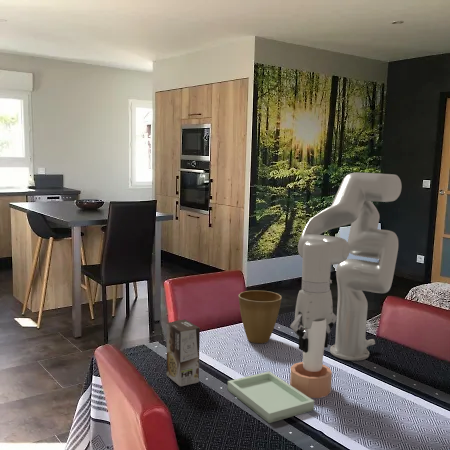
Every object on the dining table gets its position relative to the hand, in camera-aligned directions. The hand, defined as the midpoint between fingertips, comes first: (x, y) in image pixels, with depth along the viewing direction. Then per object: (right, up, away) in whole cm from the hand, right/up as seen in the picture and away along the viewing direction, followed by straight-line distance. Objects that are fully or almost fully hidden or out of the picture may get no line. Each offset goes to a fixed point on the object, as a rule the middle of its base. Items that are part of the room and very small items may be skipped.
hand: (313, 347), depth 143 cm
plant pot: (-13, -6, +38) cm, 40 cm away
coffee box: (-37, -10, +6) cm, 39 cm away
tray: (-13, -12, -6) cm, 19 cm away
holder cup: (-1, -12, +1) cm, 12 cm away
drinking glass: (0, -6, +1) cm, 6 cm away
